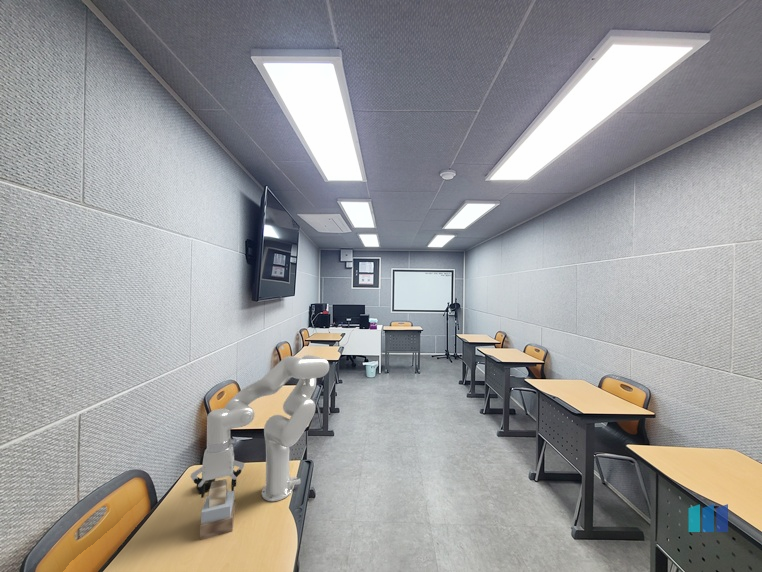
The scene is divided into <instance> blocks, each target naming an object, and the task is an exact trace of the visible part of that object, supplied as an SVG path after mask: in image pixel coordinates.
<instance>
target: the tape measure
mask: <svg viewBox="0 0 762 572" xmlns="http://www.w3.org/2000/svg"><path fill="white" fill-rule="evenodd" d="M213 481H216V479H212V480H206V481H205V492H207V491H210V487H211V483H212V482H213ZM195 488H196V491H197V492H199V487H198V485H197V484H196V487H195Z"/></svg>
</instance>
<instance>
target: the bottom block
mask: <svg viewBox="0 0 762 572" xmlns="http://www.w3.org/2000/svg"><path fill="white" fill-rule="evenodd" d="M235 514H236V499H234V503H233V507H232V511H231V516H230V518H227V519H222V520H218V521H213V522H209V523H204V524H201V523H200V525H199V541H202V540H203V541H204V540H206V539H210V538H215V537H218V536H222V535H224V534H228V533H232V532H233V530H234V523H235V517H236V516H235Z"/></svg>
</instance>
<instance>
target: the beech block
mask: <svg viewBox="0 0 762 572" xmlns="http://www.w3.org/2000/svg"><path fill="white" fill-rule="evenodd" d="M208 491H209V494H208V495H209V507H213V506H218V505H222V504H225V502H226V497H227V491H228V478H224V479H219V480H215V481H213V482H212V483H211V487H210V490H208Z"/></svg>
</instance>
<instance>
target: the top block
mask: <svg viewBox="0 0 762 572" xmlns="http://www.w3.org/2000/svg"><path fill="white" fill-rule="evenodd" d="M234 500H235V490H234V491H231V490H229V491H228V490H227V497H226V502H225V504H222V505H218V506H213V507H209V494H207V496H206V498H205V500H204V501H205V502H204V505H203V507H202V510H201V512H200V514H201V515H200V525H201V524H204V523H209V522H213V521H218V520H222V519H227V518H230V516H231V511H232V507H233V503H234Z"/></svg>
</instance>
